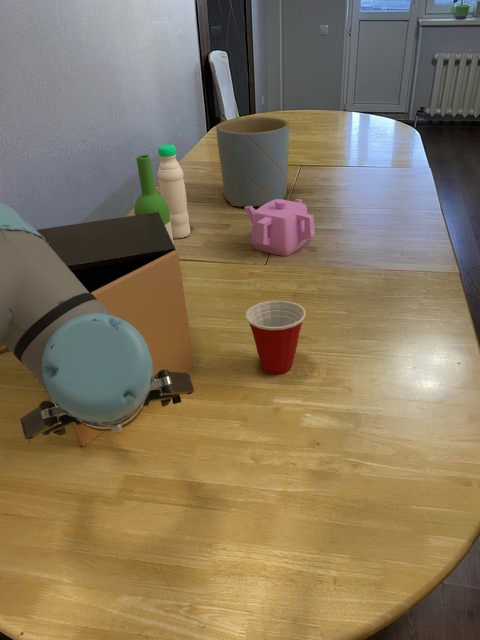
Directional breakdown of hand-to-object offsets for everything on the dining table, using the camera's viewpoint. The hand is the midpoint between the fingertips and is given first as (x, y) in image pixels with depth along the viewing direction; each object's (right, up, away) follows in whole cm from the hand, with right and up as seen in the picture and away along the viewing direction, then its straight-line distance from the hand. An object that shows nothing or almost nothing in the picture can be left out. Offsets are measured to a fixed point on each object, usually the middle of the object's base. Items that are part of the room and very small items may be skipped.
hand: (112, 410), depth 70 cm
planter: (+18, +59, +104) cm, 121 cm away
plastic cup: (+23, +5, +29) cm, 37 cm away
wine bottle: (-4, +25, +58) cm, 64 cm away
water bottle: (-4, +42, +81) cm, 92 cm away
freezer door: (+2, -2, +19) cm, 19 cm away
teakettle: (+25, +38, +74) cm, 87 cm away
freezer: (-9, +8, +34) cm, 36 cm away
